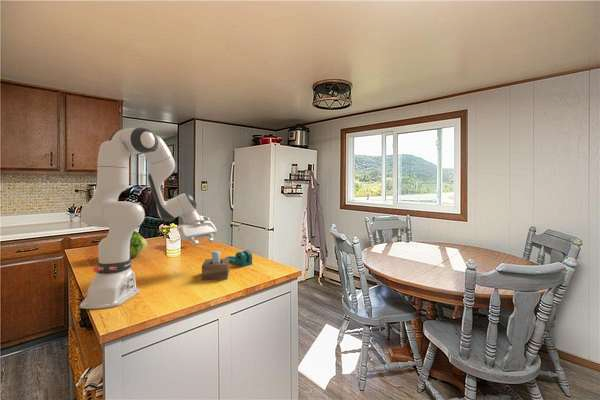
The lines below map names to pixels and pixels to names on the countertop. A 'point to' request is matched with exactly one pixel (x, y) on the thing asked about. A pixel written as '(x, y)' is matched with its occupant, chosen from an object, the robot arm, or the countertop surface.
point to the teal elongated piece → (241, 258)
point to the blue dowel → (216, 257)
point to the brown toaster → (215, 270)
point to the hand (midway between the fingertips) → (204, 243)
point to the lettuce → (137, 244)
